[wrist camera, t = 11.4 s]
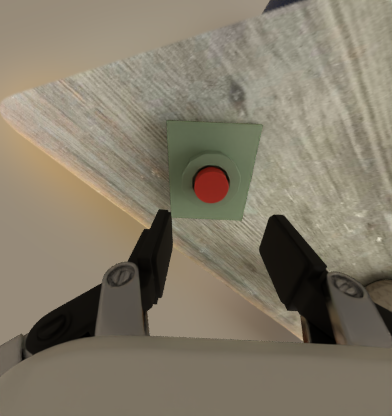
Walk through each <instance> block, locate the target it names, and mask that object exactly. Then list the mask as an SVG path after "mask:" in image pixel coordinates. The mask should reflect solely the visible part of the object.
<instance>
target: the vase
mask: <svg viewBox="0 0 392 416" xmlns="http://www.w3.org/2000/svg"><path fill="white" fill-rule="evenodd" d="M365 289H366V290H367V292H368V293H369V295H370V297H371V299H372V301H373V302H375V303H377V304H378V305H380V306H382V307H384V308H386V309H388V310H389V311H391V312H392V280H380V281H376V282H373V283H371V284H369V285H367V286H366V287H365Z"/></svg>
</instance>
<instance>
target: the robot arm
mask: <svg viewBox="0 0 392 416" xmlns="http://www.w3.org/2000/svg"><path fill="white" fill-rule="evenodd" d="M172 248H173V238H172V218H171V212H168V210H162V209H159V210H158V212H157V214H156V217H155V219H154V221H153V223H152V225H151V228H150V229H144V230H143V232H142V234H141V236H140V238H139V240H138V242H137V244H136V246H135V248H134V250H133V252H132V254H131V256H130V258H129V260H128V262H121V263H118V264H116V265H114V266H112V267H111V268H110V269H108V270H107V272H106V273H105V274H104V277H103V280H102V283H101V284H100V285H98V286H96V287H94V288H92V289H90V290H89V291H87V292H85V293H83V294H82V295H80V296H78V297H76V298H75V299H73V300H71V301H69V302H67V303H66V304H64V305H62V306H60V307H58V308H57V309H55V310H53V311H51V312H50V313H48V314H47V315H45V316H44V317H42V318H41V319H40V320H39V321H38V322H37V323H36V324H35V325H34V326H33V328H32V329H31V330H30V332H29V333H28V334H26V335H24V336H23V335H22V334H20V335H18V336H16V337H15V338H13V339H11V340H9V341H8V342H6V343H4V344H3V345H1V346H0V416H392V312H391V311H389V310H388V309H386V308H384V307H382V306H380V305H378V304H377V303H375V302H373V301H372V299H371V297H370V295H369V293H368V292H367V290H366V289H365V287H364V286H363V285H361V284H360V283H359V282H358V281H357V280H355V279H354V278H352V277H350V276H348V275H346V274H344V273H341V272H336V271H333V272H328V271H327V270H326V268H327V266H326V264H325V263H324V262H323V261H322V260H321V259H320V257H319V256H318V255H317V254H316V253H315V251H314V250H313V249H312V248H311V247H310V246H309V244H308V243H307V242H306V241H305V240H304V239H303V237H302V236H301V235H300V234H299V233H298V231H297V230H296V229H295V228H294V227H293V226H292V224H291V223H290V222H289V221H288V220H287V218H286V217H285V216H284V215H273V216H272V217H270V218H269V220H268V223H267V226H266V229H265V232H264V235H263V238H262V241H261V245H260V248H259V252H260V255H261V257H262V259H263V262H264V264H265V266H266V269H267V271H268V273H269V276H270V278H271V280H272V282H273V285H274V287H275V289H276V292H277V294H278V296H279V299H280V301H281V302H282V303H283V304H285V307H286V309H287V311H298V312H299V314H300V315H301V316H300V317H301V325H302V333H303V341H304V343H293V342H273V341H252V340H232V339H210V338H186V337H164V336H163V337H162V336H150V333H149V324H148V315H147V311H148V310H149V309H150V308H152V306H153V304H157V301H158V298H161V297H162V295H163V290H164V285H165V281H166V276H167V272H168V267H169V262H170V257H171V253H172Z"/></svg>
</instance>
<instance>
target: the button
mask: <svg viewBox="0 0 392 416" xmlns="http://www.w3.org/2000/svg"><path fill="white" fill-rule="evenodd" d="M228 189H229V185H228V181H227V179H226V176H225V174H224V173H223V172H222V171H221V170H220V169H218V168H215V167H207V168H204V169H202V170H201V171H200V172H199V173H198V174H197V176H196V178H195V185H194V190H195V194H196V196H197V197H198V198H199V199H200V200H201V201H203V202H205V203H216V202H219V201H221V200H222V199H223V198H224V197H225V196H226V195H227V192H228Z"/></svg>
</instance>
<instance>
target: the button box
mask: <svg viewBox="0 0 392 416" xmlns="http://www.w3.org/2000/svg"><path fill="white" fill-rule="evenodd" d="M166 124H167V144H168V164H169V184H170V205H171V217H173V218H195V219H217V220H239V221H242V217H243V213H244V208H245V204H246V199H247V195H248V190H249V186H250V181H251V177H252V172H253V168H254V163H255V159H256V154H257V150H258V145H259V141H260V136H261V132H262V127H263V125H262V124H248V123H225V122H202V121H179V120H167V121H166ZM207 167H215V168H218V169H220V170H221V171H222V172H223V173H224V174H225V176H226V179H227V181H228V185H229V189H228V192H227V195H226V196H225V197H224V198H223V199H222V200H221V201H219V202H216V203H205V202H203V201H201V200H200V199H199V198H198V197H197V196H196V194H195V190H194V185H195V178H196V176H197V174H198V173H199V172H200V171H201V170H202V169H204V168H207Z"/></svg>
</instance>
